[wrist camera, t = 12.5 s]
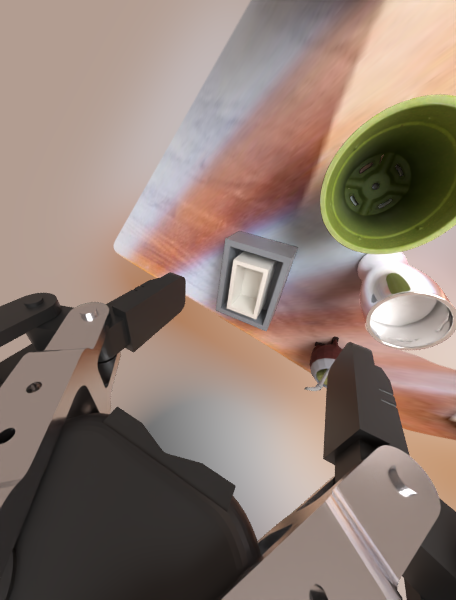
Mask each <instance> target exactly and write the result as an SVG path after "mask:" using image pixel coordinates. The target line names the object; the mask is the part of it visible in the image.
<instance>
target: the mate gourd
mask: <svg viewBox="0 0 456 600" xmlns="http://www.w3.org/2000/svg"><path fill="white" fill-rule="evenodd" d="M338 339H339V338H338V337H334V338H333V340H332V343H331V344H327V345H325V344H322V343H319V342H316V343H315V346H316V347H315V348H314V350H313V352H312V356H311V360H310V367H311V368H310V369H311V374H312V376H313V377H314V378H315V380H316V381H317V382H318V384H317V385H316V387H309V388H308V387H306V388H305V389H306V390H311V391H317V390H321V388H322V387H323V386H324V387H326V388H327V377H328V372H329V370H330V367H331V365H332V364H333V362H334V361H335V360H336V358H337V357H338V355H339V354H340V353H341V351H342V350H343V349H341V348H340V347H339V346H338V343H337V342H338Z"/></svg>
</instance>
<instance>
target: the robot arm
mask: <svg viewBox="0 0 456 600" xmlns="http://www.w3.org/2000/svg"><path fill="white" fill-rule="evenodd" d="M185 284H186V282H185V278H184V277H182V276H179V275H176V274H174V273H168V274H166V275H164V276H163V277H161V278H157V279H153V280H149V281H147V282H145V283H144V284H142V285H141V286H138V287H136V288H135V289H134V290H131V291H129V292H128V293H126V294H124V295H122V296H120V297H118V298H117V299H115V300H113V301H111V302H109V303H108V304H103V303H99V302H90V303H85V304H82V305H79V306H77V307H75V308H72V307H66V306H60V304H59V302H58V300H57V298H56V296H55V295H53V294H50V293H36V294H31V295H28V296H24V297H22V298H19V299H17V300H15V301H12V302H10V303H7V304H5V305H3V306H0V347H1V346H3V345H5V344H7V343H8V342H10V341H12V340H14V339H16V338H18V337H19V336H21V335H23V334H25V333H26V334H27V336H28V337H29V339H30V341H31V343H32V344H31V345H29V346H28V347H26V348H24V349H22V350H21V351H19V352H17V353H15V354H14V355H12V356H10V357H9V358H7V359H5V360H4V361H2V362H0V600H402V597H401V595H400V594H399V592H398V591H397V585H398V582H399V580H400V578H401V576H403V577H404V581H405V589H406V597H407V600H456V512H455V511H454V510H453V509H452V508H451V507H449V506H448V505H447V504H445V503H444V502H443V501H442V500H441V499H440V498H439V496H438V493H437V491H436V488H435V486H434V485H433V483H432V481H431V479H430V478H429V476H428V475H427V474H426V473H425V471H424V470H423V469H422V467H420V465H419V464H418V463H417V462H416V461H415V460H414V459H413V458H411V457H410V456H409V452H408V448H407V444H406V441H405V437H404V433H403V429H402V425H401V421H400V417H399V413H398V409H397V408H396V402H395V398H394V397H393V390H392V386H391V382H390V380H389V379H388V377H387V376H386V374H385V373H384V371H383V370H382V368H380V367H378V366H375V365H374V360H373V355H372V351H371V350H369V349H367V348H364V347H362V346H359V345H357V344H354V343H351V342H349V343H347V345H346V346H345V347H344V349H343V350H342V351H341V353H340V354H339V355H338V357H337V358H336V360H335V361H334V362H333V364H332V365H331V367H330V370H329V372H328V377H327V394H326V415H325V416H326V417H325V435H324V456H323V457H324V458H323V459H325V460H327V461H328V462H330V463H332V464H334V465H335V476H334V477H332V478H331V479H330V480H329V481H328V482H326V483H325V484H324V485H323V486H322V487H321V488H320V489H318V490H317V491H316V492H315V493H314V494H313V495H312V496H311V497H310V498H308V499H307V500H306V501H305V502H304V503H303V504H301V505H300V506H299V507H298V508H297V509H296V510H295V511H293V512H292V513H291V514H290V515H289V516H287V517H286V518H284V519H283V520H282V521H281V522H279V523H278V524H277V525H276V526H275V527H273V528H272V529H271V530H270V531H269V532H267V533H266V534H265V535H264V536H263V537H262V538H261V539H260V540H258V541H257V539H256V536H255V533H254V531H253V528H252V526H251V524H250V522H249V520H248V518H247V516H246V514H245V512H244V510H243V509H242V507H241V506H240V504H239V503H238V501H237V500H236V499H235V498H234V496H233V492H234V490H235V485H233V484H232V483H231V482H229V481H228V480H226V479H225V478H223V477H222V476H220V475H219V474H217V473H216V472H214V471H213V470H211V469H210V468H208V467H207V466H205V465H204V464H202V463H199V462H195V461H191V460H188V459H184V458H180V457H177V456H173V455H170V454H167V453H165V452H163V451H162V449H161V448H160V447H159V445H158V444H157V443H156V441H155V440H154V439H153V437H152V436H151V435H150V433H149V432H148V430H147V429H146V428H145V426H144V425H143V424H142V423H141V422H139V421H138V420H137V419H135V418H133V417H132V416H131V415H129V414H128V413H126V412H124V411H123V410H122V409H120V408H119V407H116V408H115V410H114V411H113V412H112V413H111V414H110V410H111V391H112V387H113V383H114V379H115V376H116V371H117V368H118V364H119V360H120V357H121V352H120V351H121V350H122V349H124V348H127V349H128V350H130V351H132V352H135V351H136V350H137V349H138V348H139V347H140V346H142V345H143V344H144V343H145V342H146V341H147V340H149V339H150V338H151V337H152V336H153V335H154V334H155V333H157V332H158V331H159V330H160V329H161V328H162V327H164V326H165V325H166V324H167V323H168V322H169V321H170V320H172V319H173V318H174V317H175V316H176V315H177V314H179V313H180V312H181V311H182V309H183V307H184V304H185Z"/></svg>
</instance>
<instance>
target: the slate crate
mask: <svg viewBox="0 0 456 600" xmlns="http://www.w3.org/2000/svg"><path fill="white" fill-rule="evenodd" d="M297 250H298V247H295V246H291V245H288V244H284V243H281V242H277V241H274V240H270V239H266V238H263V237H259V236H256V235H252V234H249V233H245V232H242V231H238V232H237V233H235V234H233V235H231V236H229V237H228V238H226V239H225V246H224V253H223V261H222V268H221V275H220V283H219V290H218V297H217V305H216V311H219V312H221V313H223V314H226V315H228V316H231V317H233V318H235V319H238V320H240V321H243V322H245V323H247V324H250V325H252V326H255V327H257V328H259V329H262V330H264V331H267V329H268V327H269V325H270V322H271V320H272V318H273V316H274V313H275V311H276V308H277V305H278V302H279V300H280V297H281V294H282V291H283V289H284V286H285V283H286V280H287V277H288V275H289V272H290V269H291V266H292V264H293V261H294V258H295V255H296V252H297ZM244 251H247V252H250V253H254V254H257V255H260V256H263V257H266V258H270V259H273V260H276V261H277V263H276V266H275V270H274V273H273V277H272V281H271V284H270V288H269V292H268V295H267V299H266V302H265V305H264V306H263V308H262V310H261V312H260V313H259V315H258V317H257V319H254V318H251V317H248V316H246V315H243V314H240V313H238V312H235V311H232V310H230V309H227V302H228V295H229V288H230V281H231V274H232V267H233V260H234V259H235V258H236V257H237V256H239V255H240V254H241V253H242V252H244Z"/></svg>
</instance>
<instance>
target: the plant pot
mask: <svg viewBox="0 0 456 600" xmlns="http://www.w3.org/2000/svg"><path fill="white" fill-rule="evenodd" d="M383 154H384V156H383V158H382V160H381V162H380V159H381V156H382V155H383ZM379 162H380V164H379ZM369 163H373V164H372V166H371V167H370V168H368V169H366V170H365V171H364V172H362V173H361V174H360V170H361V169H362V168H363V167H364V166H365V165H367V164H369ZM397 164H398V165H399V167H401V169H402V171H403V176H400V175H399V173H398V170H397V169H396V168H395V166H396V165H397ZM375 183H379V187H378V188H377V189H372V186H373V185H374V184H375ZM348 188H349V189H348ZM351 196H354V198H355V200H356V202H357V203H359V204H358V205H356V206H355V205H354V204H353V202H352V201H351V199H350V197H351ZM389 199H392V202H390V203H389V204H388V205H386V206H384V207H382V208H378V206H379V205H380V204H383V203H384V202H386V201H388V200H389ZM320 209H321V215H322V219H323V222H324V224H325V226H326V228H327V230H328V231H329V233H330V234H331V235H332V237H333V238H334V239H335V240H337V241H338V242H339V243H340V244H342V245H343V246H345V247H347V248H349V249H351V250H354V251H357V252H361V253H367V254H392V253H398V252H403V251H407V250H410V249H413V248H416V247H419V246H421V245H423V244H425V243H428V242H430V241H432V240H433V239H435V238H437V237H439V236H440V235H442V234H443V233H445V232H446V231H448V230H449V229H451V228H452V227H453V226H454V225H456V96H452V95H427V96H422V97H417V98H413V99H410V100H407V101H404V102H401V103H398V104H396V105H394V106H392V107H389V108H387V109H386V110H384V111H382V112H380V113H379V114H377V115H376V116H374V117H372V118H371V119H370V120H368V121H367V122H366V123H364V124H363V125H362V126H361V127H360V128H358V129H357V130H356V131H355V132H354V133H353V134H352V135H351V136H350V137H349V138H348V139H347V141H346V142H345V143H344V144H343V145H342V147H341V148H340V149H339V151H338V152H337V154H336V155H335V157H334V158H333V160H332V162H331V163H330V165H329V167H328V170H327V172H326V174H325V177H324V180H323V184H322V188H321V194H320ZM370 210H371V211H370Z"/></svg>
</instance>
